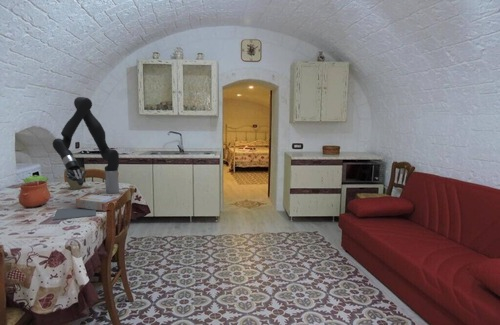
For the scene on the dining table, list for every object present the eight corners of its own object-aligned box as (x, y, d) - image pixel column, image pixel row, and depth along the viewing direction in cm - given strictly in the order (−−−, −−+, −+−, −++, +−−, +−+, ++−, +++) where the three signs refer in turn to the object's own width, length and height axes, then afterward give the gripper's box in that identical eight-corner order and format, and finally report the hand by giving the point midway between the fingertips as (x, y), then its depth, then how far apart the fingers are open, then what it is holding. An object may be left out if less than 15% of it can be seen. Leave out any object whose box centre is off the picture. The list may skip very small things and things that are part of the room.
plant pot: (61, 189, 259) (60, 169, 257) (79, 185, 272) (78, 166, 269) (72, 191, 251) (70, 171, 249) (90, 188, 264) (89, 168, 262)
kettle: (21, 191, 250) (20, 177, 248) (29, 187, 263) (27, 174, 262) (43, 190, 254) (42, 176, 252) (49, 186, 267) (48, 173, 265)
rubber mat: (57, 210, 203) (57, 209, 203) (96, 206, 212) (96, 205, 212) (52, 220, 183) (52, 219, 183) (96, 215, 192) (95, 214, 192)
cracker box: (75, 207, 204) (105, 211, 200) (75, 198, 203) (105, 201, 199) (90, 202, 218) (118, 206, 214) (90, 193, 217) (118, 197, 213)
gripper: (61, 161, 205) (72, 182, 200) (82, 159, 216) (93, 179, 211) (58, 168, 209) (69, 190, 204) (79, 166, 220) (89, 186, 215)
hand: (81, 184), depth 207 cm, fingers closed
